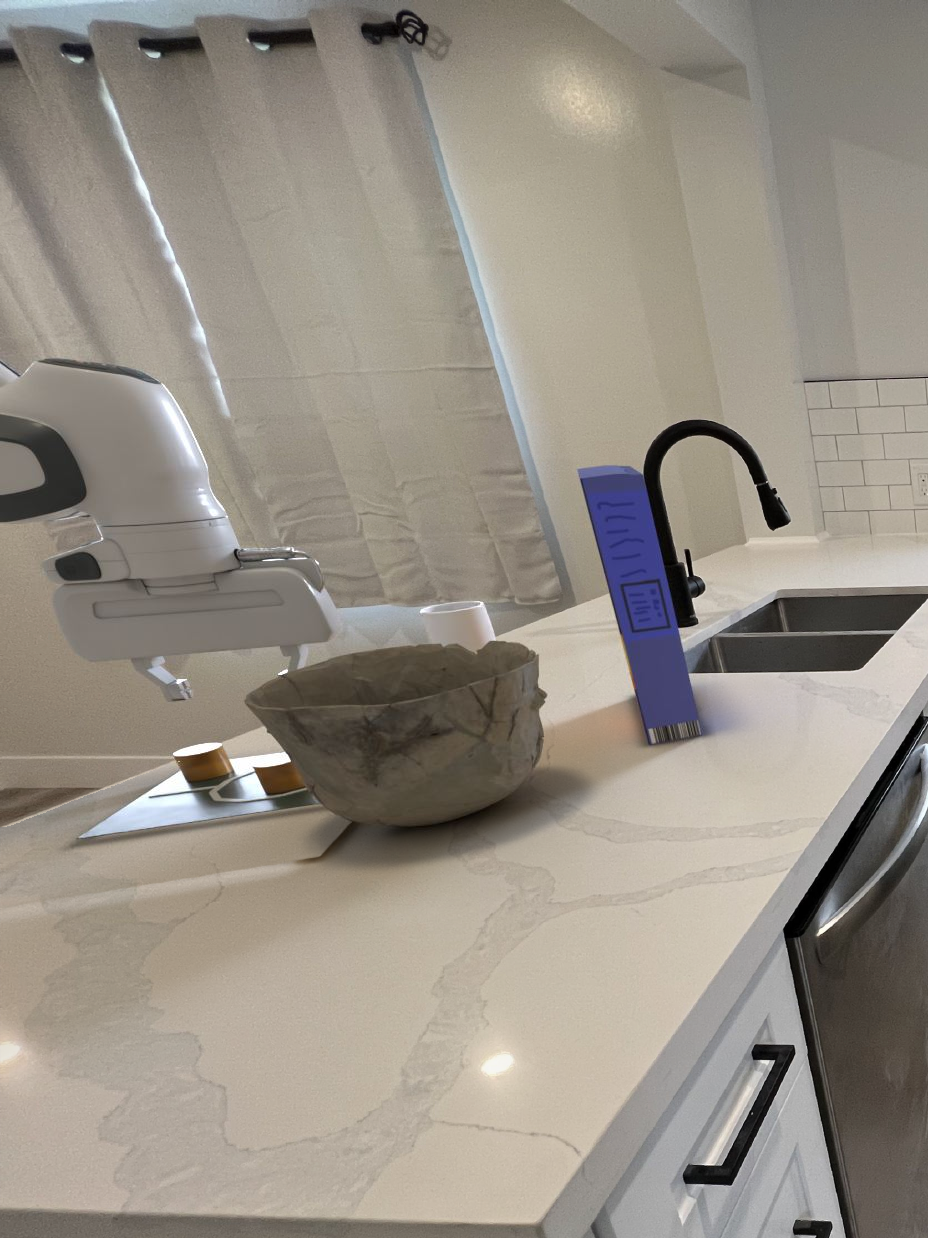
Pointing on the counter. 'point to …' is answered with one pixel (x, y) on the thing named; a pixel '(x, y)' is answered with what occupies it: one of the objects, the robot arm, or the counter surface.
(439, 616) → the white plastic cylinder
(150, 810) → the board
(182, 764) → the short orange cylinder
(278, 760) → the orange white short cylinder
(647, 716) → the cereal box
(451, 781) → the bowl
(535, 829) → the counter surface
